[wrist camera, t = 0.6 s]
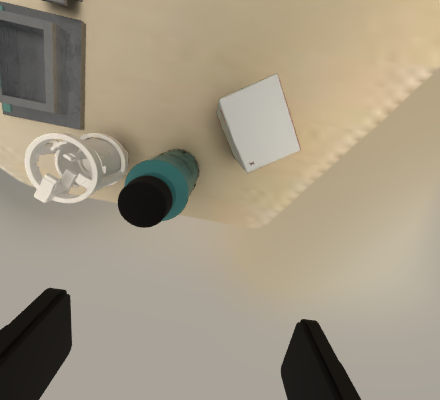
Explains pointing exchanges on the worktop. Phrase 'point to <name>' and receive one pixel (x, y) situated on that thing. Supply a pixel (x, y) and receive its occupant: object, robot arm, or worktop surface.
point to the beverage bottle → (158, 188)
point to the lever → (59, 2)
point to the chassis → (42, 66)
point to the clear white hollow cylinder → (76, 165)
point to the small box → (258, 124)
